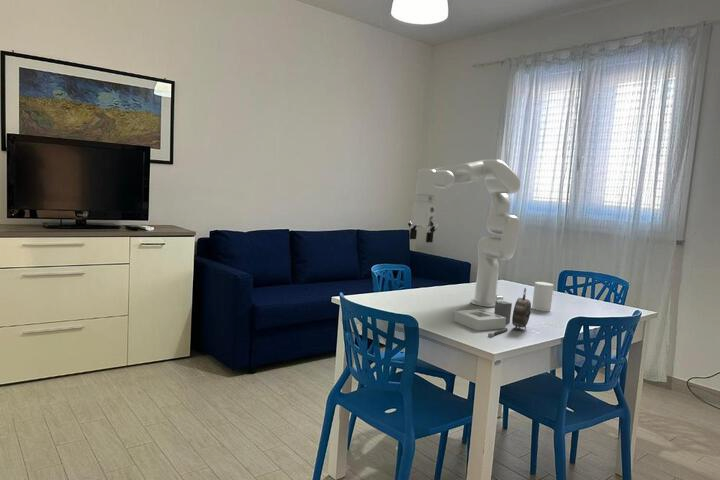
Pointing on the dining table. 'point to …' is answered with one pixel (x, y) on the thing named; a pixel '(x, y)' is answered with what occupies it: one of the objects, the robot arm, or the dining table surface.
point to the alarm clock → (521, 312)
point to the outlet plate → (479, 319)
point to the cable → (496, 332)
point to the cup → (542, 296)
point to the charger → (503, 309)
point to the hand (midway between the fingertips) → (420, 240)
